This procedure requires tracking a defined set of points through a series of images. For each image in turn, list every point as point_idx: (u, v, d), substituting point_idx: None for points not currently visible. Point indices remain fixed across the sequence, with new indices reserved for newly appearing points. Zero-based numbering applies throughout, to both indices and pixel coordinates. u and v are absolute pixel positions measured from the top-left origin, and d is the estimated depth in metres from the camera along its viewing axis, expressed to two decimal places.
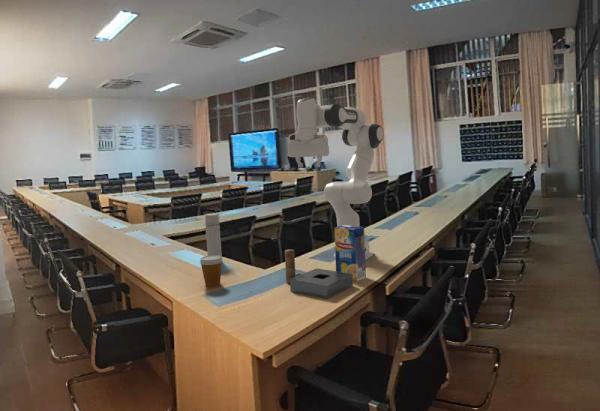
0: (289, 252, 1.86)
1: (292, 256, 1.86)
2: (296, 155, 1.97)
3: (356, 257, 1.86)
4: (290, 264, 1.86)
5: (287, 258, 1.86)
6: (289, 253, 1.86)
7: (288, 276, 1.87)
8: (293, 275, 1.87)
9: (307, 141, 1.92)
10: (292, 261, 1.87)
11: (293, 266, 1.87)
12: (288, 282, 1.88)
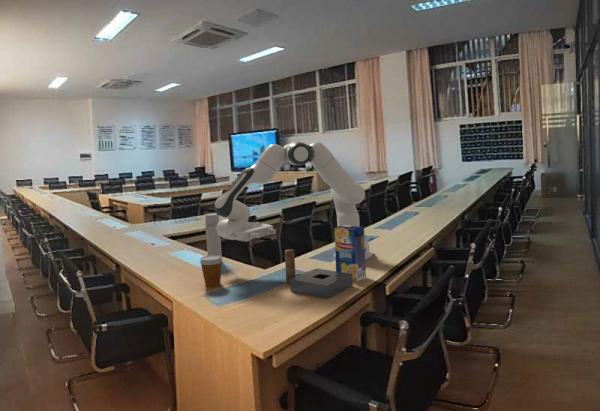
0: (289, 252, 1.86)
1: (292, 256, 1.86)
2: (266, 234, 2.02)
3: (356, 257, 1.86)
4: (290, 264, 1.86)
5: (287, 258, 1.86)
6: (289, 253, 1.86)
7: (288, 276, 1.87)
8: (293, 275, 1.87)
9: None
10: (292, 261, 1.87)
11: (293, 266, 1.87)
12: (288, 282, 1.88)
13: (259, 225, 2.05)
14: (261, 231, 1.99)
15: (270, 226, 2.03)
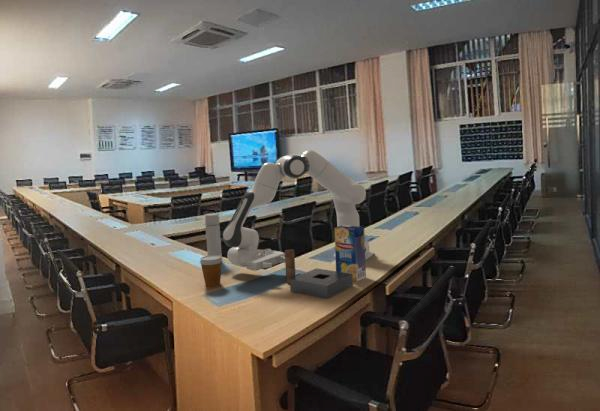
0: (289, 252, 1.86)
1: (292, 256, 1.86)
2: None
3: (356, 257, 1.86)
4: (290, 264, 1.86)
5: (287, 258, 1.86)
6: (289, 253, 1.86)
7: (288, 276, 1.87)
8: (293, 275, 1.87)
9: None
10: (292, 261, 1.87)
11: (293, 266, 1.87)
12: (288, 282, 1.88)
13: (271, 252, 2.03)
14: (273, 259, 1.97)
15: (282, 254, 2.01)
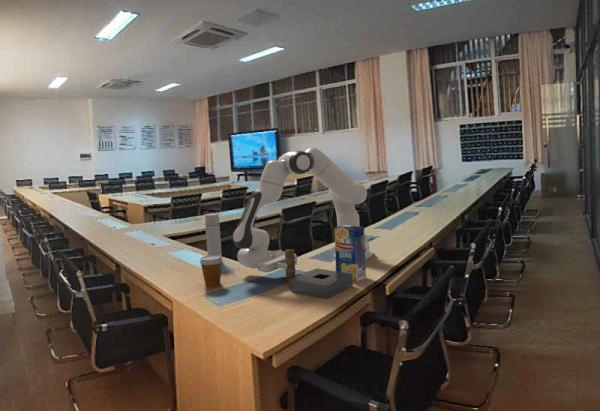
0: (289, 252, 1.86)
1: (292, 256, 1.86)
2: None
3: (356, 257, 1.86)
4: (290, 264, 1.86)
5: (287, 258, 1.86)
6: (289, 253, 1.86)
7: (288, 276, 1.87)
8: (293, 275, 1.87)
9: None
10: (292, 261, 1.87)
11: (293, 266, 1.87)
12: (288, 282, 1.88)
13: (282, 254, 1.99)
14: None
15: None
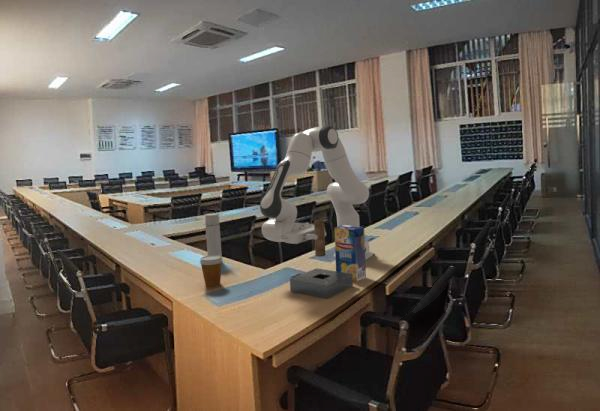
0: (319, 222, 1.74)
1: (322, 226, 1.75)
2: None
3: (356, 257, 1.86)
4: (320, 235, 1.75)
5: (317, 229, 1.75)
6: (318, 223, 1.74)
7: (317, 248, 1.76)
8: (323, 247, 1.76)
9: None
10: (322, 232, 1.75)
11: (323, 237, 1.76)
12: (317, 254, 1.76)
13: (309, 226, 1.87)
14: (313, 233, 1.81)
15: None
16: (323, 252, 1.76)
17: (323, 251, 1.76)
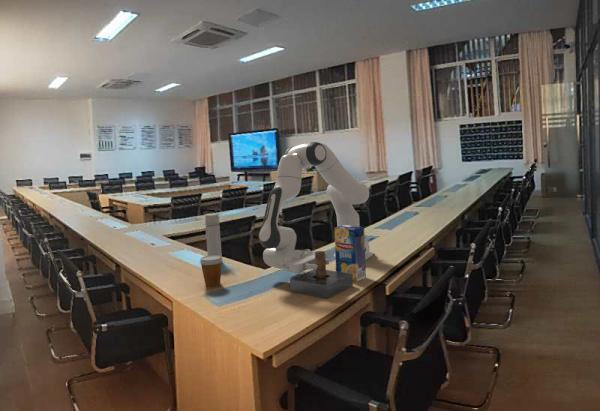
0: (320, 254, 1.76)
1: (323, 258, 1.76)
2: None
3: (356, 257, 1.86)
4: (321, 267, 1.76)
5: (318, 260, 1.76)
6: (319, 255, 1.76)
7: None
8: (324, 278, 1.77)
9: None
10: (323, 263, 1.76)
11: (324, 269, 1.77)
12: None
13: (310, 253, 1.89)
14: (314, 261, 1.83)
15: None
16: None
17: None
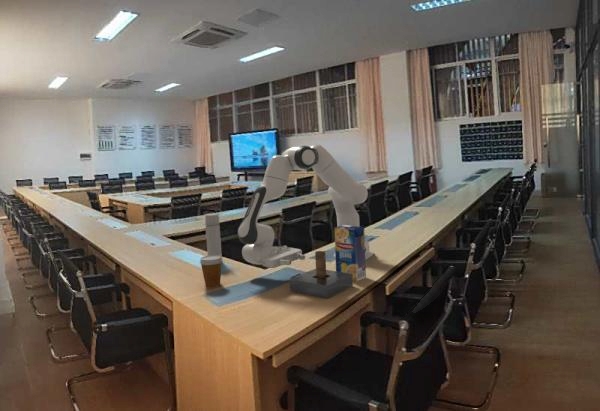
0: (320, 254, 1.76)
1: (323, 258, 1.76)
2: None
3: (356, 257, 1.86)
4: (321, 266, 1.76)
5: (318, 260, 1.76)
6: (320, 255, 1.76)
7: None
8: (324, 278, 1.78)
9: None
10: (323, 263, 1.77)
11: (324, 268, 1.77)
12: None
13: (287, 249, 1.97)
14: (290, 256, 1.91)
15: (299, 251, 1.95)
16: None
17: None
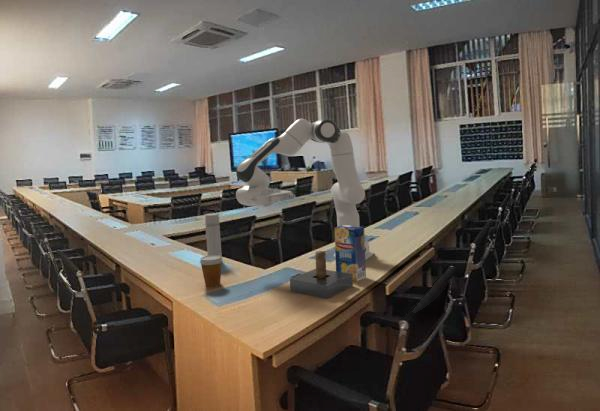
0: (320, 254, 1.76)
1: (323, 258, 1.76)
2: None
3: (356, 257, 1.86)
4: (321, 266, 1.76)
5: (318, 260, 1.76)
6: (320, 255, 1.76)
7: None
8: (324, 278, 1.77)
9: None
10: (323, 263, 1.77)
11: (324, 269, 1.77)
12: None
13: (278, 191, 2.08)
14: (281, 196, 2.01)
15: (289, 192, 2.05)
16: None
17: None
